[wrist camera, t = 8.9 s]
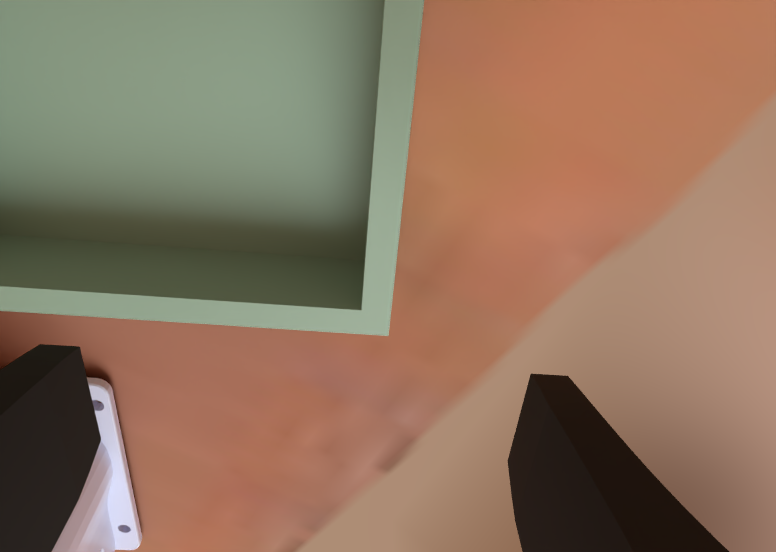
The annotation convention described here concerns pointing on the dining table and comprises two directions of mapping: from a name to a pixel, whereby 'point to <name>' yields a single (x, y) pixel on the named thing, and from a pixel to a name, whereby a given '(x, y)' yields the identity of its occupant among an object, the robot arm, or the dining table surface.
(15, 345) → the dining table surface
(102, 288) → the pale green open box
